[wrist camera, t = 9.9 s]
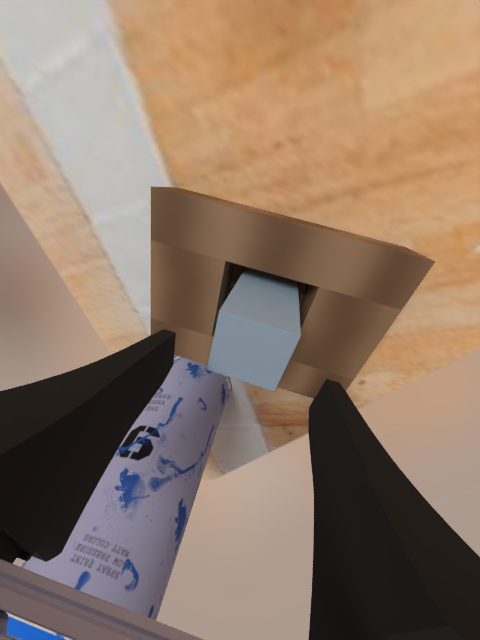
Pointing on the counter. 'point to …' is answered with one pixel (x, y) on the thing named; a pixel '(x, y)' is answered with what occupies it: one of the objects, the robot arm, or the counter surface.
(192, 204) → the walnut socket holder
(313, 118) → the counter surface
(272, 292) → the slate peg
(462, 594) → the robot arm
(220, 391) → the aerosol can
